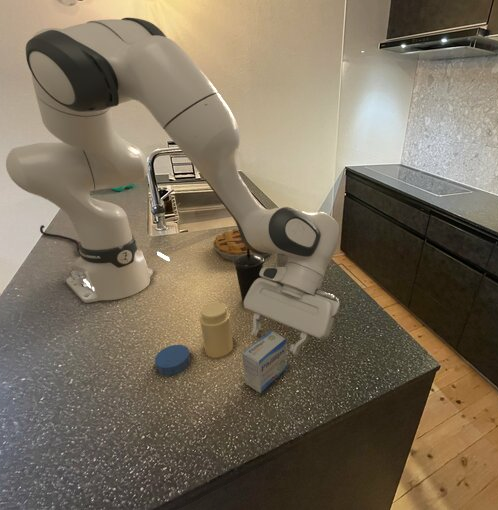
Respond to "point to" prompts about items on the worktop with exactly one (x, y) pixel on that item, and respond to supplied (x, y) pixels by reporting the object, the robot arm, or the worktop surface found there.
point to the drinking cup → (247, 270)
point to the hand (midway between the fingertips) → (273, 345)
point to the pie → (231, 245)
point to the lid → (172, 359)
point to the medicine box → (264, 361)
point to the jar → (216, 329)
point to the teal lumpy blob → (122, 187)
